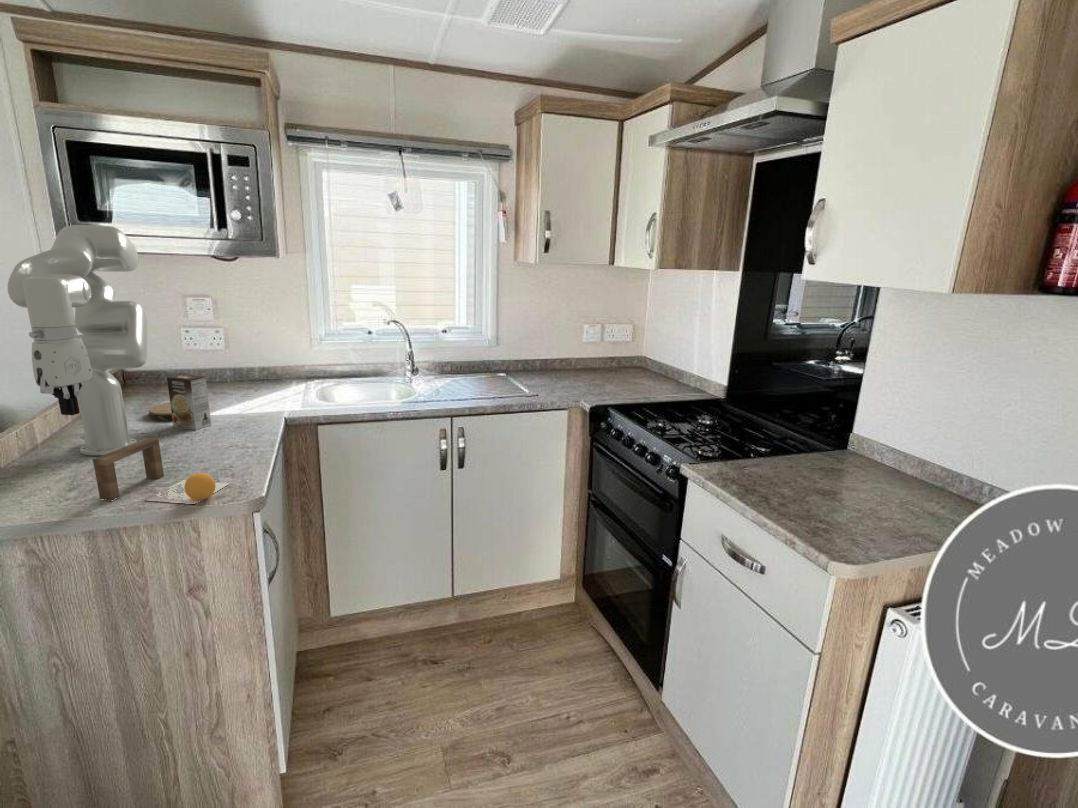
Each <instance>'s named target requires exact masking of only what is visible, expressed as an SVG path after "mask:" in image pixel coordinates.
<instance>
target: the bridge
mask: <svg viewBox="0 0 1078 808" xmlns="http://www.w3.org/2000/svg"><path fill="white" fill-rule="evenodd" d="M159 440H160V439H159V438H155V437H153V438H152V437H145V438H143V439H141V440H137V442H135V443H133V444H130V445H128V446H125V447H123V448H120V449H118V450H115V451H112V452H110V453H107V454H105V455H99V456H96V457H95V458H92V464H93V469H94V474H95V478H96V484H97V490H98V495H99V500H100V499H104V500H105V499H106V500H114V499H115V498H118V497H120V498H121V495H120V489H119V484H118V478H117V472H116V467H115V462H118V461H120V460H122V459H124V458H128V457H130V456H132V455H135V454H137V453H139V452H142V458H143V459H142V460H143V464H144V465H143V466H144V471H145V476H146V479H148V478H154V479H153V480H159V479H161V478H160V477H162V478H164V477H165V475H164V467H163V460H162V453H161V446H160V441H159ZM163 476H164V477H163Z"/></svg>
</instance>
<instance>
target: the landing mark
mask: <svg viewBox="0 0 1078 808" xmlns="http://www.w3.org/2000/svg"><path fill="white" fill-rule="evenodd" d="M186 481H187V479H182V480H180V481H179V482H176V483H175V484H173V485H171V486H169V487H168V488H171V487H174V486H177V485H180V484H181V485H182V486H181V487H183V488H184V486H185V482H186ZM215 484H216V487H215V491H214V492H213V493H214V494H216V493H217V491H218V492H219V491H221V490H223V489H225V488H226V487H228V486H229V485H230V484H231V483H228V482H216V481H215ZM227 485H228V486H227ZM225 486H226V487H225ZM177 487H178V486H177ZM222 488H223V489H222ZM174 489H177V488H175V487H174ZM174 489H172V488H171V489H170V490H168V491H169V492H168V491H167V492H168V496H169V497H167V496H166V495H165V496H166V497H167V498H168V499H172V498H174V499H178V498H175V497H178V496H180V497H184V498H183V500H189V503H197V504H199V503H201V502H202V501H201V500H195V499H192V498H190V497H189V496H188V495H187V494H186V492H184V491H185V490H184V491H183V492H184V494H183V493H181V495H179V494H177V493H175V492H177V491H176V490H174ZM184 489H185V488H184ZM220 489H221V490H220ZM171 490H173V491H175V492H173V491H171ZM160 492H161V491H160ZM160 492H158V493H159V494H157V493H155V494H156V495H157V496H159V497H162V496H160V495H161V493H160ZM215 492H216V493H215ZM169 494H170V495H169ZM182 495H183V496H182ZM173 496H174V497H173ZM180 500H181V499H180ZM198 501H199V503H198ZM200 501H201V502H200ZM185 502H188V501H185Z"/></svg>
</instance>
